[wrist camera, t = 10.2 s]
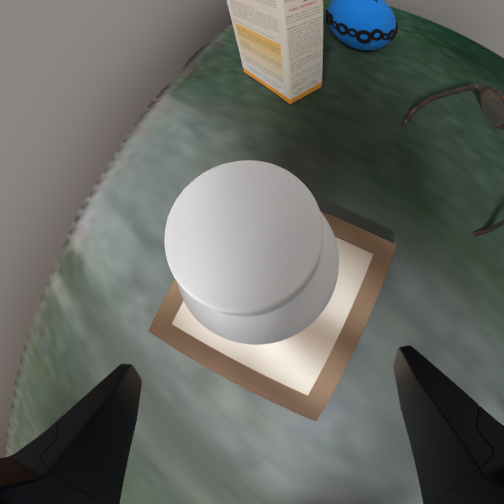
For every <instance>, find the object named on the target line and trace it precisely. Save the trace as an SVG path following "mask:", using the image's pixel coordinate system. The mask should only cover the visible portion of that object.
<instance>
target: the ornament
mask: <svg viewBox="0 0 504 504" xmlns="http://www.w3.org/2000/svg"><path fill="white" fill-rule="evenodd" d="M326 23H328V24H329V26H330V29H331V30H332V32H333V33H334V35H335V36H336V37H337V38H338V39H339V40H340V41H341V42H343V43H344V44H346V45H347V46H349V47H351V48H354V49H357V50H361V51H369V50H376V49H379V48H381V47H383V46H385V45H386V44H388V43H389V42H390V41H391V40H393V39H394V37H395V35H396V34H397V30H398V24H397V22H396V21H395V16H394V14H393V12H392V10H391V8H390V7H389V6H388V4H387V3H386V2H385V1H383V0H333V1H332V2H331V4H330V6H329V8H328V10H326Z"/></svg>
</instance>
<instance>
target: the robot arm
mask: <svg viewBox="0 0 504 504" xmlns="http://www.w3.org/2000/svg"><path fill="white" fill-rule="evenodd" d="M394 373H395V378H396V383H397V389H398V394H399V400H400V406H401V410H402V414H403V418H404V421H405V425H406V429H407V432H408V436H409V440H410V444H411V448H412V452H413V456H414V460H415V465H416V469H417V474H418V478H419V483H420V488H421V493H422V498H423V504H504V426H503V425H502V424H501V423H499V422H498V421H497V420H495V419H494V418H493V417H492V416H491V415H490V414H488V413H487V412H486V411H485V410H484V409H483V408H482V407H481V406H479V405H478V404H477V403H476V402H475V401H474V400H473V399H472V398H470V397H469V396H468V395H467V394H466V393H465V392H464V391H463V390H462V389H460V388H459V387H458V386H457V385H456V384H455V383H454V382H452V381H451V380H450V379H449V378H448V377H447V376H446V375H444V374H443V373H442V372H441V371H440V370H439V369H438V368H436V367H435V366H434V365H433V364H432V363H431V362H429V361H428V360H427V359H426V358H425V357H424V356H422V355H421V354H420V353H419V352H418V351H417V350H415V349H414V348H413V347H412V346H403V347H400V348H399V349H398V351H397V354H396V358H395V361H394ZM141 385H142V382H141V378H140V376H139V375H138V373H137V371H136V370H135V368H134V366H133V365H131V364H121V365H119V366H118V367H117V368H116V369H115V370H114V371H113V372H111V373H110V374H109V375H108V376H107V377H106V378H105V379H104V380H102V381H101V382H100V383H99V384H98V385H97V386H96V387H95V388H93V389H92V390H91V391H90V392H89V393H88V394H87V395H86V396H84V397H83V398H82V399H81V400H80V401H79V402H78V403H77V404H75V405H74V406H73V407H72V408H71V409H70V410H69V411H68V412H66V413H65V414H64V415H63V416H62V417H61V418H60V419H59V420H58V421H56V422H55V423H54V424H53V425H52V426H51V427H50V428H48V429H47V430H46V431H45V432H44V433H42V434H41V435H40V436H39V437H37V438H36V439H35V440H33V441H32V442H31V443H29V444H28V445H26V446H25V447H24V448H22V449H21V450H19V451H18V452H17V453H15V454H14V455H11V456H9V457H5V458H0V504H119V503H120V497H121V492H122V486H123V481H124V476H125V471H126V466H127V461H128V456H129V452H130V447H131V443H132V438H133V434H134V430H135V425H136V421H137V415H138V407H139V400H140V392H141ZM478 406H479V407H478Z"/></svg>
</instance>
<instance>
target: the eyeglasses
mask: <svg viewBox="0 0 504 504" xmlns="http://www.w3.org/2000/svg"><path fill="white" fill-rule="evenodd" d="M477 88H478V89H479V91H480V104H481V108H482V110H483V111H484V112H485V113H486V114H487V115H488V117H489V118H490V119H491V121H492V122H493V124H494V125H495V127H497V128H501V129H504V96H503V95H502V94H501V93H500V92H499V91H498V90H497V89H495V88H493V87H486V88H484V86H483V85H482V84H481V83H480V82H478V83H475V84H471V85H467V86H463V87H459V88H456V89H452V90H449V91H446V92H443V93H439V94H436V95H433V96H431V97H428V98H426V99H425V100H423V101H422V102H420V103H419V104H418V105H417V106H415V107H414V108H413V109H412V110H411V111H410V112H409V113H408V115H407V117H406V119H405V120H404V122H403V124H402V126H401V127H402V128H404V127H405V126H406V124H407V123H408V121H409V119H410V117H411V116H412V115H413V114H414V113H416V112H417V111H418V110H419V109H420V108H422V107H423V106H424V105H425V104H427V103H429V102H431V101H433V100H436V99H439V98H443V97H446V96H450V95H453V94H457V93H461V92H465V91H469V90H473V89H477ZM502 225H504V220H503V221H501V222H499V223H497V224H495V225H493V226H491V227H489V228H486V229H483V230H480V231H476V232H474V233H473V234H474V236H477V235H481V234H485V233H488V232H490V231H493V230H495V229H497V228H499V227H500V226H502Z"/></svg>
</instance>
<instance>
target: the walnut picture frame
mask: <svg viewBox="0 0 504 504" xmlns="http://www.w3.org/2000/svg"><path fill="white" fill-rule="evenodd" d="M320 212H321V213H322V214H323V215H324V217H325V218H326V220H327V221H328V223H329V225H330V227H331V229H332V231H333V233H334V236H335V239H336V243H337V247H338V253H339V270H338V278H337V283H336V286H335V289H334V292H333V294H332V297H331V299H330V301H329V303H328V304H327V306H326V307H325V309H324V310H323V312H322V313H321V314H320V315H319V317H318V318H317V319H316V320H315V321H314V322H313V323H311V324H310V325H309V326H308V327H307V328H305V329H304V330H303V331H301V332H299V333H298V334H296V335H295V336H292V337H290V338H288V339H285V340H282V341H279V342H275V343H270V344H262V345H251V344H243V343H238V342H234V341H230V340H227V339H225V338H222V337H220V336H218V335H216V334H215V333H213V332H211V331H210V330H208V329H207V328H206V327H204V326H203V325H202V324H201V323H200V322H199V321H198V320H197V319H196V318H195V317H194V316H193V314H192V313H191V312H190V311H189V309H188V308H187V306H186V304H185V302H184V300H183V298H182V296H181V293H180V291H179V287H178V284H177V281H176V279H175V280H174V281H173V283H172V285H171V287H170V289H169V291H168V293H167V295H166V297H165V299H164V301H163V303H162V305H161V307H160V308H159V310H158V312H157V314H156V316H155V318H154V320H153V322H152V324H151V326H150V328H149V330H148V331H149V332H150V333H152V334H153V335H155V336H156V337H158V338H159V339H161V340H163V341H164V342H166V343H167V344H169V345H170V346H172V347H174V348H175V349H177V350H178V351H180V352H182V353H183V354H185V355H187V356H188V357H190V358H192V359H193V360H195V361H197V362H198V363H200V364H202V365H203V366H205V367H207V368H209V369H210V370H212V371H214V372H216V373H218V374H219V375H221V376H223V377H225V378H227V379H228V380H230V381H232V382H234V383H236V384H238V385H240V386H242V387H244V388H245V389H247V390H249V391H251V392H253V393H255V394H257V395H259V396H261V397H263V398H265V399H267V400H270V401H272V402H274V403H276V404H278V405H280V406H282V407H284V408H287V409H289V410H291V411H293V412H295V413H298V414H300V415H302V416H305V417H307V418H309V419H312V420H314V421H316V422H317V420H318V418H319V416H320V415H321V413H322V411H323V410H324V408H325V406H326V404H327V402H328V401H329V399H330V397H331V395H332V393H333V392H334V390H335V388H336V386H337V384H338V382H339V380H340V378H341V376H342V374H343V372H344V371H345V369H346V367H347V365H348V363H349V360H350V358H351V356H352V354H353V352H354V350H355V348H356V346H357V344H358V342H359V339H360V337H361V335H362V333H363V331H364V328H365V326H366V324H367V322H368V319H369V317H370V315H371V312H372V310H373V307H374V305H375V303H376V300H377V298H378V295H379V293H380V290H381V287H382V285H383V282H384V280H385V277H386V274H387V271H388V269H389V266H390V263H391V260H392V257H393V255H394V252H395V249H396V246H397V245H396V244H394V243H391V242H389V241H387V240H385V239H383V238H381V237H379V236H377V235H374V234H372V233H370V232H368V231H366V230H364V229H361V228H359V227H357V226H355V225H353V224H350V223H348V222H346V221H344V220H341V219H339V218H337V217H334V216H332V215H330V214H328V213H325V212H323V211H320Z"/></svg>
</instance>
